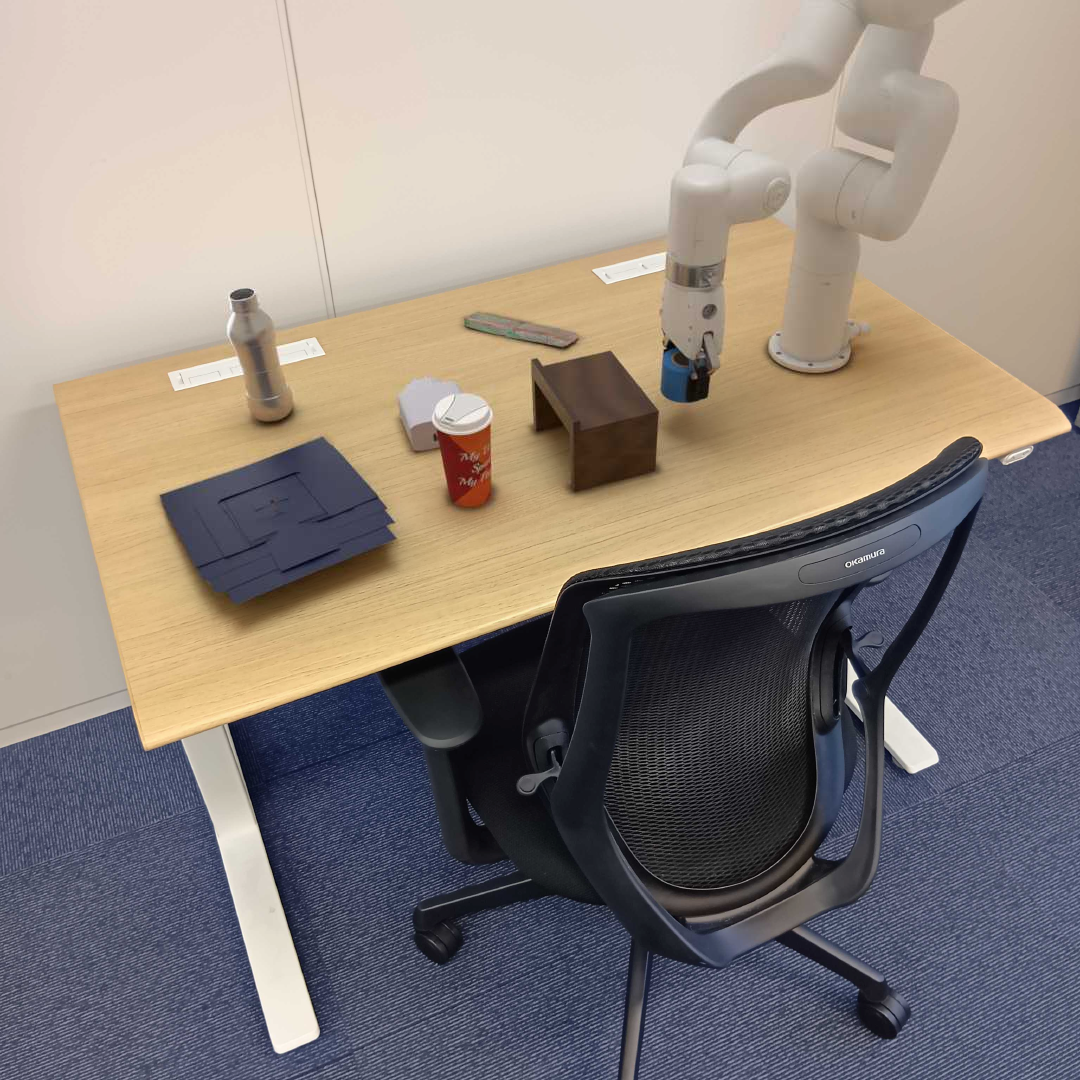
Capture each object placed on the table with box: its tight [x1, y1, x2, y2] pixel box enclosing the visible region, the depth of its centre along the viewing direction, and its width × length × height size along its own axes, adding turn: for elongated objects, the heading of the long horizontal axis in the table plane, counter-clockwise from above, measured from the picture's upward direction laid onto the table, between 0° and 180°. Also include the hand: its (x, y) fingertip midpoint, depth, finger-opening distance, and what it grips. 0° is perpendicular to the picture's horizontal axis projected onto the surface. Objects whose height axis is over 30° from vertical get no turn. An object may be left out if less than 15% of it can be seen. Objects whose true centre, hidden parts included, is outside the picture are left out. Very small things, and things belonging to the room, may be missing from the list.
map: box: [463, 311, 580, 348], centre depth 162 cm, size 5×20×1 cm, turn 64°
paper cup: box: [432, 393, 494, 508], centre depth 127 cm, size 8×8×14 cm
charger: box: [397, 374, 464, 452], centre depth 144 cm, size 5×9×15 cm
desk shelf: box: [530, 350, 660, 493], centre depth 135 cm, size 12×16×12 cm
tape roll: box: [659, 348, 704, 404], centre depth 136 cm, size 7×7×5 cm
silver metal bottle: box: [226, 287, 294, 423], centre depth 141 cm, size 6×7×20 cm
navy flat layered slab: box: [159, 436, 398, 606], centre depth 127 cm, size 24×30×4 cm
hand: (684, 384), depth 137 cm, fingers closed on tape roll, 6 cm apart
